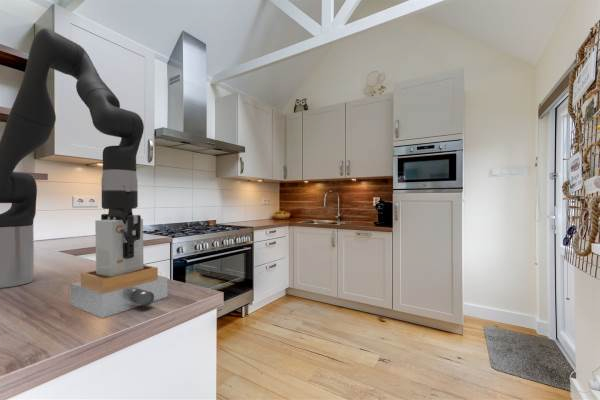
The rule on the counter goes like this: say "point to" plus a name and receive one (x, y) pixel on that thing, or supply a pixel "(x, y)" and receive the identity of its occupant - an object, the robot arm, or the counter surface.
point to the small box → (115, 249)
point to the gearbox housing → (118, 291)
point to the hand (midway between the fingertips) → (120, 256)
